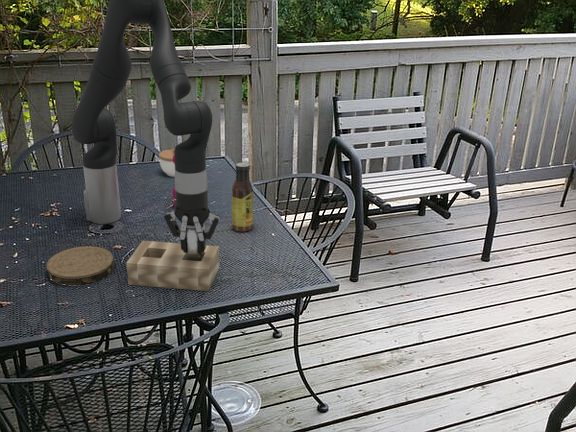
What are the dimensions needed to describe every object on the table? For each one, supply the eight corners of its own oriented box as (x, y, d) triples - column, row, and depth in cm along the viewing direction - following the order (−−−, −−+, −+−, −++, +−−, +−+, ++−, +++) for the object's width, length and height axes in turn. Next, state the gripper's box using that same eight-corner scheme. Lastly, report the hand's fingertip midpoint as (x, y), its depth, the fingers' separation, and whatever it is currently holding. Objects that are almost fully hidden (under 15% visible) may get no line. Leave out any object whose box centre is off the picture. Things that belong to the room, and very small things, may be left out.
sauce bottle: (249, 233, 169) (250, 169, 161) (229, 231, 170) (228, 167, 162) (255, 224, 175) (256, 162, 167) (235, 222, 176) (235, 160, 168)
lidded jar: (160, 179, 206) (158, 154, 202) (160, 169, 216) (158, 145, 212) (190, 178, 208) (189, 153, 205) (189, 168, 218) (188, 144, 214)
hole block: (128, 284, 141) (126, 263, 139) (144, 260, 152) (142, 240, 150) (209, 291, 140) (208, 269, 137) (219, 266, 151) (218, 246, 148)
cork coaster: (91, 250, 157) (90, 240, 156) (126, 270, 148) (126, 260, 147) (35, 271, 146) (34, 261, 145) (70, 294, 137) (69, 284, 136)
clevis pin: (183, 269, 143) (181, 226, 138) (188, 261, 147) (186, 218, 142) (200, 271, 142) (199, 227, 138) (204, 263, 146) (203, 219, 141)
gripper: (156, 190, 133) (161, 257, 140) (217, 194, 132) (218, 261, 139) (166, 179, 140) (170, 243, 147) (224, 183, 139) (224, 247, 146)
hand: (193, 251), depth 143 cm, fingers closed on clevis pin, 3 cm apart
